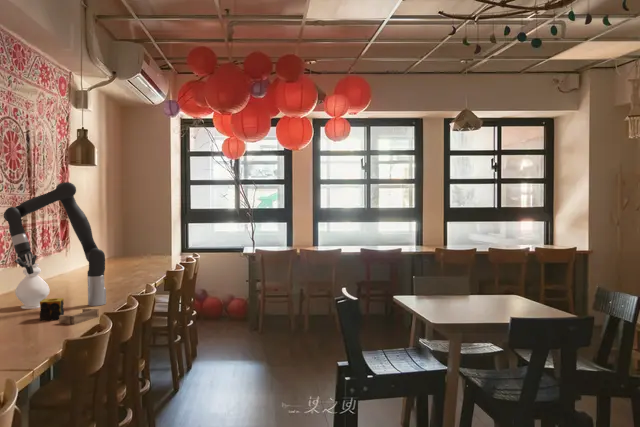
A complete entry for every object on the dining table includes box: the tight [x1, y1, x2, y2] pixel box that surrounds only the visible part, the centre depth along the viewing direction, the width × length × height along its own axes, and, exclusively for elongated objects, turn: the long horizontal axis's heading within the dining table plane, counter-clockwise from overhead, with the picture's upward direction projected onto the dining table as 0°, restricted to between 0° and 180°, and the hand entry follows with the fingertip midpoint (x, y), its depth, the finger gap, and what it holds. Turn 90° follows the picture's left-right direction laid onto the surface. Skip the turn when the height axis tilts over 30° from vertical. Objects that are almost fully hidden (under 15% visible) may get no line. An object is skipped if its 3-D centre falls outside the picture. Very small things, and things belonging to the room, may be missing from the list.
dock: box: [58, 307, 100, 325], centre depth 294 cm, size 9×19×4 cm, turn 165°
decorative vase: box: [15, 262, 51, 310], centre depth 332 cm, size 18×18×25 cm
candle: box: [39, 297, 65, 322], centre depth 299 cm, size 10×10×10 cm
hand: (31, 273), depth 306 cm, fingers closed
